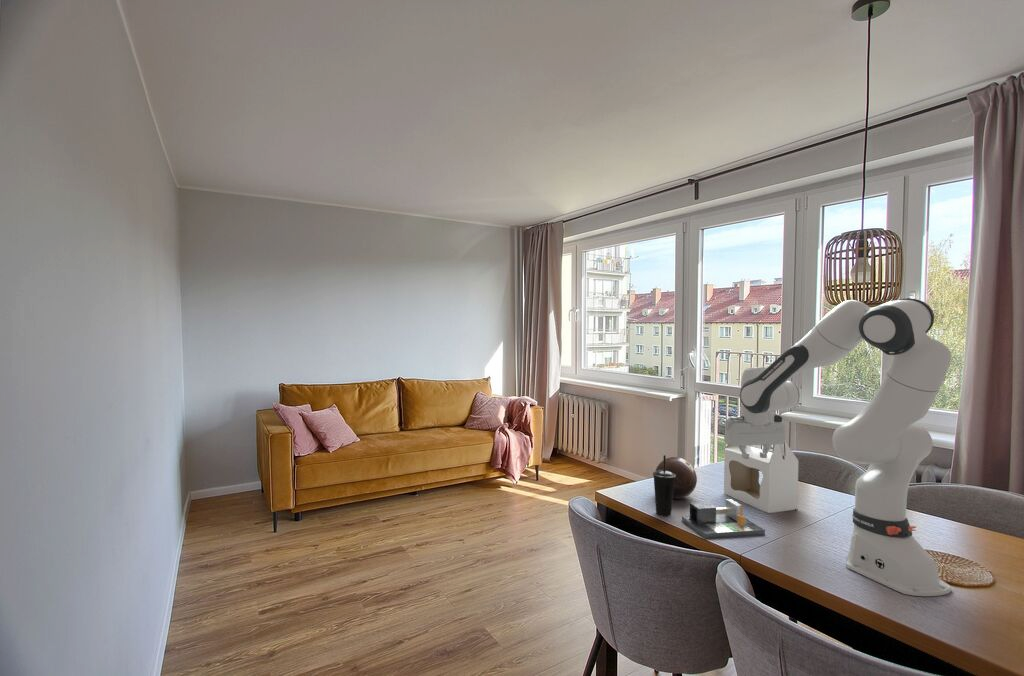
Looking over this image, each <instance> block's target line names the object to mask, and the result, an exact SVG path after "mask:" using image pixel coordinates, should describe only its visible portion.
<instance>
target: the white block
mask: <svg viewBox="0 0 1024 676" xmlns="http://www.w3.org/2000/svg"><path fill="white" fill-rule="evenodd" d="M740 505H742V504H741V503H740V502H737V501H735V500H734V499H732V498H728V499H727V498H726V499H725V506H721V507H720V506H719V507H717V506H716V515H717V514H726V515H727V516H729V517H731V518H732V519H734V520H735V521H737V518H738V515H740ZM745 523H747V520H745Z"/></svg>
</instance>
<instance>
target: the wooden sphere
mask: <svg viewBox="0 0 1024 676" xmlns="http://www.w3.org/2000/svg"><path fill="white" fill-rule="evenodd" d="M658 470H663V460H661V461H660V463H659V464H657V466H656V469H655V471H658ZM665 470H668V471H670V472H672V473H674V474H676V477H675V483H674V492H673V499H678V500H679V499H683V498H684V499H685V498H686V497H688V496H690V495H692V493H693V492H694V491H695V489H696V486H697V484H698V483H697V482H698V479H697V478H698V477H697V472H696V469H695V468H694V467H693V466H692V464H691V463H690V462H688V460H686V459H684V458H681V457H679V456H678V457H677V456H673V457H666V464H665Z"/></svg>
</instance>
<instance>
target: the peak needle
mask: <svg viewBox="0 0 1024 676" xmlns="http://www.w3.org/2000/svg"><path fill="white" fill-rule="evenodd" d="M745 518H746V517H745V516H743V504H741V505H740V515H738V518H737V523H739V524H740V525H745Z"/></svg>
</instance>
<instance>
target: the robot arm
mask: <svg viewBox="0 0 1024 676" xmlns="http://www.w3.org/2000/svg"><path fill="white" fill-rule="evenodd" d="M934 323H935V313H934V310H933V309H932V308H931V306H930V305H929V304H927V303H926V302H925V301H923V300H920V299H917V298H909V297H908V298H900V299H896V300H890V301H889V300H888V301H887V302H886V301H885V303H882V304H879V305H877V306H874V307H871V306H869V305H867V304H866V303H864V302H862V301H859V300H856V299H847V300H844V301H842V302H840V303H839V304H837V305H836V306H835V307H834V308H832V309H831V310H830V311H829V312H828V313H826V314H825V315H824V316H823V317H822V318H821V319H820V320H819V321H818V322H817V324H815V325H814V327H813V328H812V329H810V331H808V333H806V334H805V336H803V337H802V338H801V339H800V340H798V341H797V342H796V343H795V344H793V345H792V346H791V347H789V348H788V349H787V350H785V351H784V352H783V353H782V354H781V355H780V356H779V357H777V358H776V360H774V361H773V362H772V363H771V364H770V365H769V366H767V367H764V366H757V367H748V368H746V369H744V370H743V372H742V375H741V381H740V393H739V398H740V411H739V412H740V414H739V416H729V418H727V419H726V420H725V429H724V436H723V441H724V443H725V444H726V445H730V446H739V449H740V451H741V452H742V458H743V459H749V453H746V451H745V449H746V445H751V446H762V447H763V448H762V449H763V450H762V452H760V458H767V453H768V451H770V450H771V448H772V447H771V445H773V446H774V445H775V444H784V442H786V439H787V438H786V437H787V431H786V426H785V423H784V422H785V416H783V415H781V414H778V413H775V412H779V411H787V410H791V409H793V408H795V407H796V406H798V403H799V401H800V392H799V388H798V386H797V385H796V383H794V382H793V381H791V380H790V379H792V378H793V377H794V376H796V375H797V374H799V373H801V372H805V371H807V370H808V371H809V370H811V369H816V368H821V367H825V366H831V365H833V364H836V363H838V362H839V361H841V360H843V359H844V358H845V357H847V356H849V354H851V352H852V351H853V350H854V349H855V348H856V347H857V346H859V344H860V343H862V342H863V340H864V342H866V343H867V344H869V345H871V346H872V347H875V348H876V349H879V350H880V351H881V352H883V353H884V354H886V355H888V356H893V357H892V361H891V362H890V364H889V367H888V368H887V370H886V373H885V375H884V377H883V379H882V381H881V383H880V385H879V386H878V388H877V391H876V393H874V394H875V395H874V396H873V397H872V398H871V400H870V401H869V402H868V403H867V405H866V406H865V407H863V408H862V410H861V411H860V412H858V413H857V414H856V415H855V416H854V417H853V418H852V419H850V420H849V421H847V422H845V423H843V424H842V425H840V426H838V427H837V428H835V430H834V431H833V434H832V440H831V442H832V446H833V449H834V451H835V452H836V454H837V455H838V456H839V457H840V458H841V459H843V460H844V461H847V462H851V463H855V464H862V465H867V464H868V465H869V466H868V468H867V469H866V471H864V473H863V474H861V475H860V476H859V477H858V478H857V480H856V481H855V485H854V486H855V488H854V489H855V496H854V508H853V509H852V523H853V530H852V535H851V538H850V540H851V541H850V546H849V551H848V553H847V556H846V562H845V563H846V565H845V567H846V568H847V569H849V570H851V571H853V572H856V573H858V574H859V575H863V576H864V577H866V578H868V579H871V580H873V581H875V582H877V583H879V584H881V585H884V586H885V587H888V588H890V589H892V590H895V591H897V592H899V593H902V594H903V595H907V596H914V597H915V596H917V597H936V596H944V595H948V594H950V593H951V592H952V586H951V585H950V584H948V582H946V581H943V580H942V579H941V578H940V577H939V576H940V574H939V568H938V565H937V562H936V560H935V559H934V558H932V556H931V555H930V553H928V552H927V551H926V549H924V548H923V546H922V545H921V544H920V543H919V542H918V541H917V540H916V538H914V536H913V532H914V531H915V532H916V531H917V530H916V528H917V526H916V525H914V526H913V525H912V526H911V525H910V522H909V520H908V519H909V518H907V502H908V501H907V500H908V491H909V486H910V483H911V480H912V477H913V476H914V474H915V471H916V469H917V467H918V466H919V465H920V463H921V462H922V461H923V460H924V459H925V458H927V457H929V455H930V454H931V452H932V451H933V445H934V444H933V438H932V436H931V434H930V432H929V431H928V430H927V429H926V428H925V427H924V426H923V425H920V424H917V423H916V422H919V421H920V420H922V419H923V418H924V417H925V416H926V415H927V414H928V412H929V411H930V408H931V406H932V405H933V403H934V401H935V398H936V397H937V395H938V393H939V392H940V389H941V387H942V386H943V384H944V382H945V379H946V378H947V377H946V376H947V375H948V374H947V373H948V371H949V367H950V364H951V359H952V351H951V350H950V349H949V347H948V346H947V345H946V344H944V343H942V342H941V341H939V340H937V339H933V338H931V337H930V336H929V335H928V334H927V333H929V331H930V330H931V329H932V327H933V325H934Z"/></svg>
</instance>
